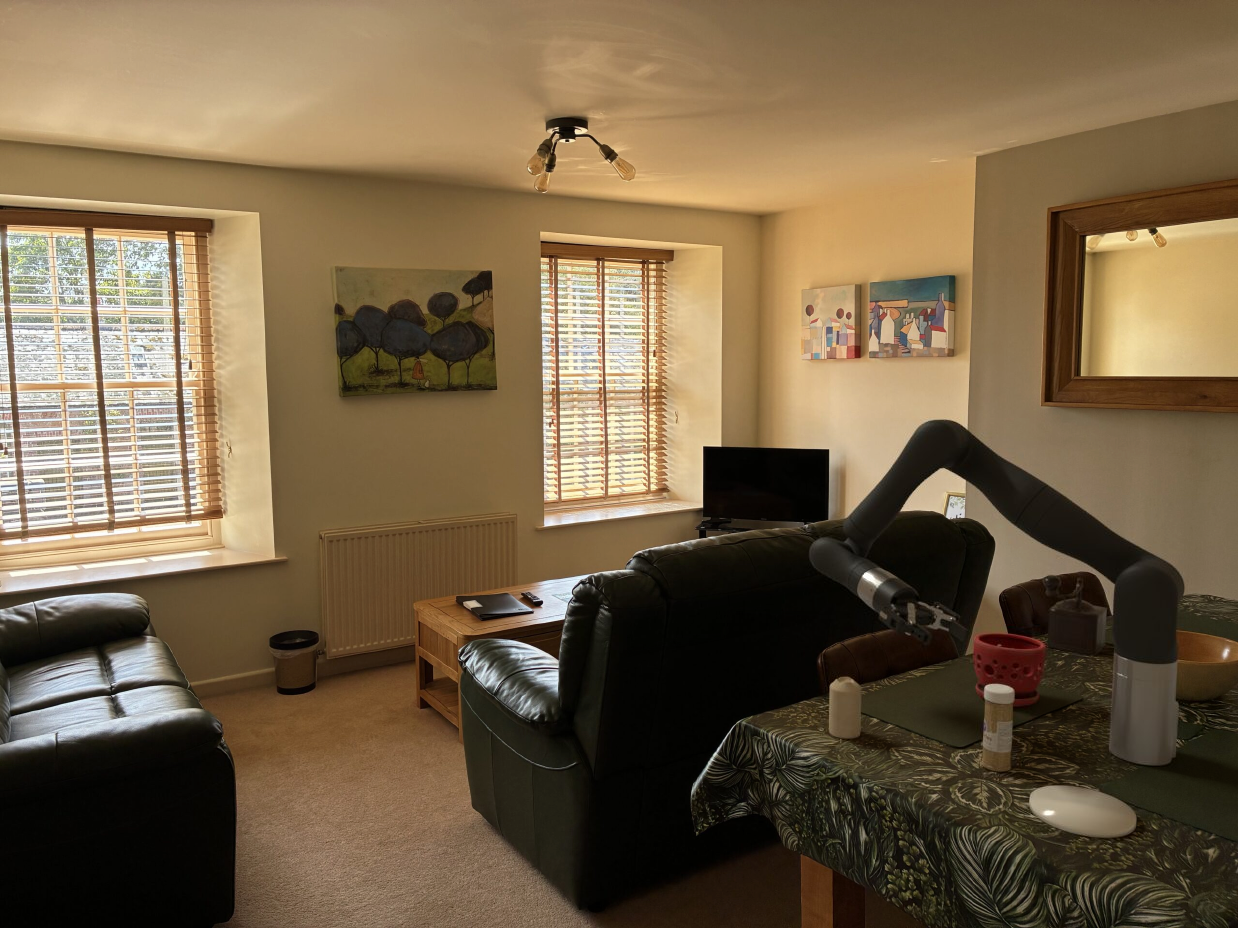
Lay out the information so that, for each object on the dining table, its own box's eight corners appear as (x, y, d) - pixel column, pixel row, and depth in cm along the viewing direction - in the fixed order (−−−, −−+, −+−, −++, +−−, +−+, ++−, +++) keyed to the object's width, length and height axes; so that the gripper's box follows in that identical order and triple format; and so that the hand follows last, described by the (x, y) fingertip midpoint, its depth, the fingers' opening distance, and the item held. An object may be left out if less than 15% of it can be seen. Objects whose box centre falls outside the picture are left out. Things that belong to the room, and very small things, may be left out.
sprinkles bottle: (976, 761, 152) (979, 683, 151) (1002, 760, 153) (1005, 682, 151) (990, 773, 148) (993, 692, 146) (1016, 772, 148) (1020, 691, 147)
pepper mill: (1056, 637, 223) (1059, 564, 221) (1106, 645, 215) (1110, 570, 213) (1036, 652, 211) (1039, 575, 209) (1088, 661, 204) (1092, 582, 202)
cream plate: (1078, 785, 143) (1078, 779, 143) (1159, 826, 130) (1159, 820, 130) (1008, 800, 138) (1008, 794, 138) (1084, 845, 125) (1084, 838, 125)
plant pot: (1052, 712, 174) (1055, 651, 173) (980, 708, 176) (982, 648, 175) (1032, 688, 187) (1035, 631, 185) (965, 685, 189) (967, 629, 187)
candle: (861, 740, 161) (862, 685, 160) (829, 737, 162) (830, 683, 161) (859, 728, 167) (860, 674, 166) (828, 725, 168) (829, 672, 167)
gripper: (862, 578, 168) (922, 621, 154) (921, 575, 174) (984, 616, 160) (852, 614, 170) (911, 660, 156) (911, 610, 176) (972, 653, 162)
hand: (948, 638), depth 158 cm, fingers open, 8 cm apart
